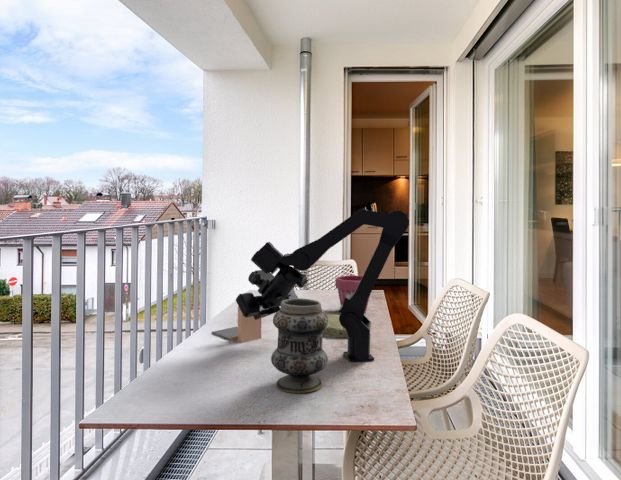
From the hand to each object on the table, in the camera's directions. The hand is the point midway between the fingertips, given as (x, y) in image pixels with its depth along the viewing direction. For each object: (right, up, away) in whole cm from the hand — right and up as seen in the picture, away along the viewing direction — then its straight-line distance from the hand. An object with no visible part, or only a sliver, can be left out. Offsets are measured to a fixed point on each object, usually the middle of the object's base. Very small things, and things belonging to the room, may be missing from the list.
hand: (255, 318), depth 125 cm
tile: (-2, -7, +2) cm, 7 cm away
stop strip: (-3, -6, +4) cm, 8 cm away
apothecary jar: (+13, -9, -30) cm, 34 cm away
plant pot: (+32, -5, +40) cm, 51 cm away
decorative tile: (+22, -7, +16) cm, 28 cm away
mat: (-7, -6, +8) cm, 12 cm away
